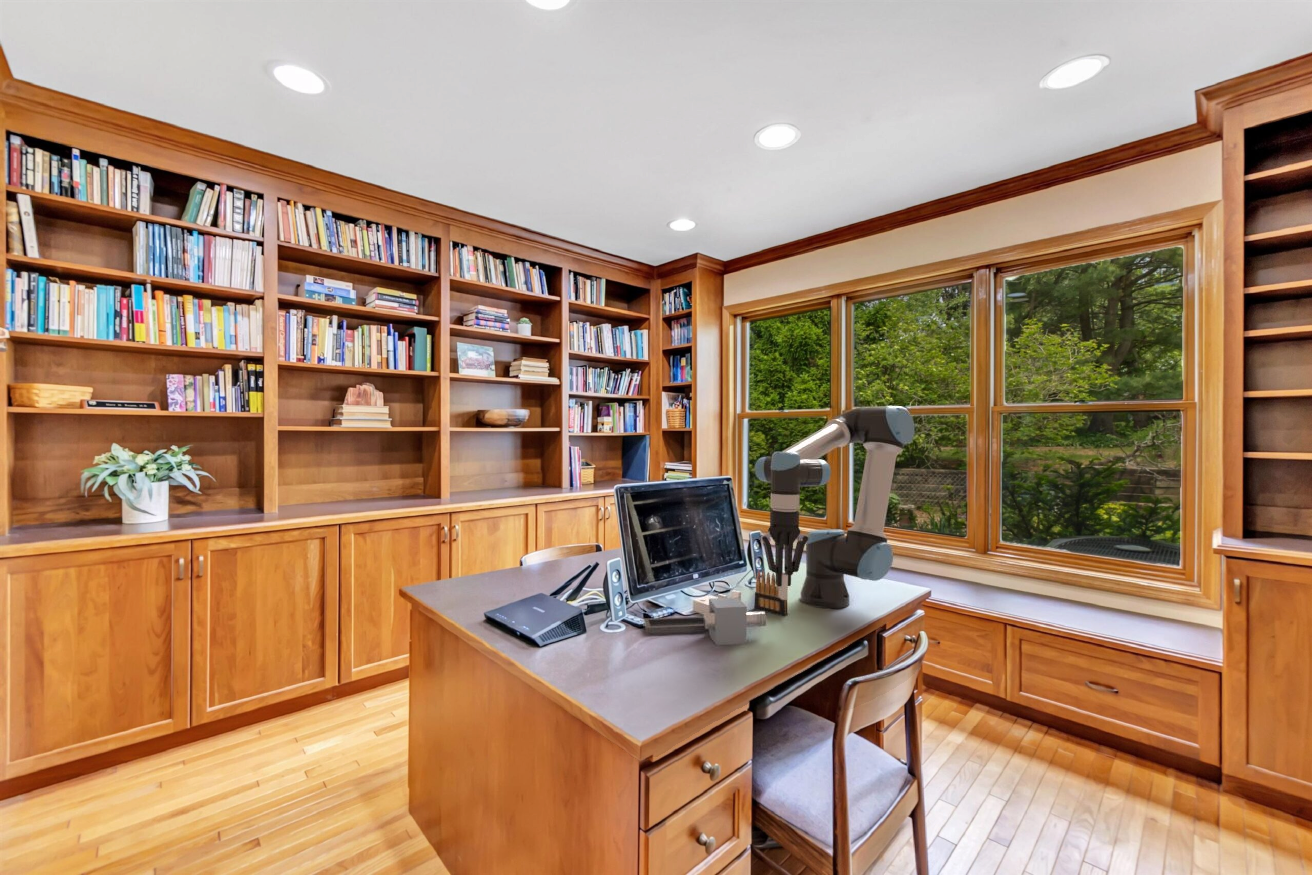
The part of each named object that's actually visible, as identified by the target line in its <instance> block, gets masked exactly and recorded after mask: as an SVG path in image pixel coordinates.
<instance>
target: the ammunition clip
mask: <svg viewBox="0 0 1312 875" xmlns="http://www.w3.org/2000/svg"><path fill="white" fill-rule="evenodd" d="M775 582H776V574H775V572H772V575H770V572H769V571H767V574H766V575H765V570H763V571H762V572H760V570H759V569H758V570H757V573H756V582H755V592H754V602H753V603H754V605H753V606H754V607H753V609H754V610H757V611H764V612H765V613H770V614H773V615H777V616H781V617H787V616H788V615H789V614H788V613H789V612H788V599H787V600H782V599H781V598H779V597H778V595H779V586H777V585H776V583H775Z"/></svg>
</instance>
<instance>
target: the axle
mask: <svg viewBox="0 0 1312 875" xmlns="http://www.w3.org/2000/svg"><path fill="white" fill-rule="evenodd" d="M702 616H703V622H704V627H705V629H708V628H715V613H704V614H703V615H702ZM766 625H767V615H766V612H765V611H761V610H757V611H756V610H754V611H747V628H752V627H753V628H755V627H766Z"/></svg>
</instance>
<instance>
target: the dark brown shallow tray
mask: <svg viewBox="0 0 1312 875" xmlns="http://www.w3.org/2000/svg"><path fill="white" fill-rule="evenodd" d="M703 616H704V615H702V616H701V615H700V616H680V617H679V616H678V617H655V618H654V617H651V618H650V617H649V618H644V622H643V623H644V628H645V631H646V632H645V633H646V635H647V636H652V635H654V636H655V635H657V636H658V635H677V634H679V635H680V634H681V635H682V634H698V633H699V634H700V633H701V634H702V633H704V634H705V633H709V628H708V629H705V627H704V622H703Z"/></svg>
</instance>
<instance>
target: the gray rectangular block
mask: <svg viewBox="0 0 1312 875" xmlns="http://www.w3.org/2000/svg"><path fill="white" fill-rule="evenodd" d="M747 610H748V608H747V606H746V604H744V602H743V601H742V599H741V600H740V599H739V598H730V597H727V598H718V597H715V598H711V599H709V613H715V628H709V632H708V635H709V636H710V638H711V640H712V641H713V643H714V644H715V646H725V645H742V644H743V645H746V644H747V636H748V635H747V630H748V629H747V628H748V627H747V612H748V611H747Z"/></svg>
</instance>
